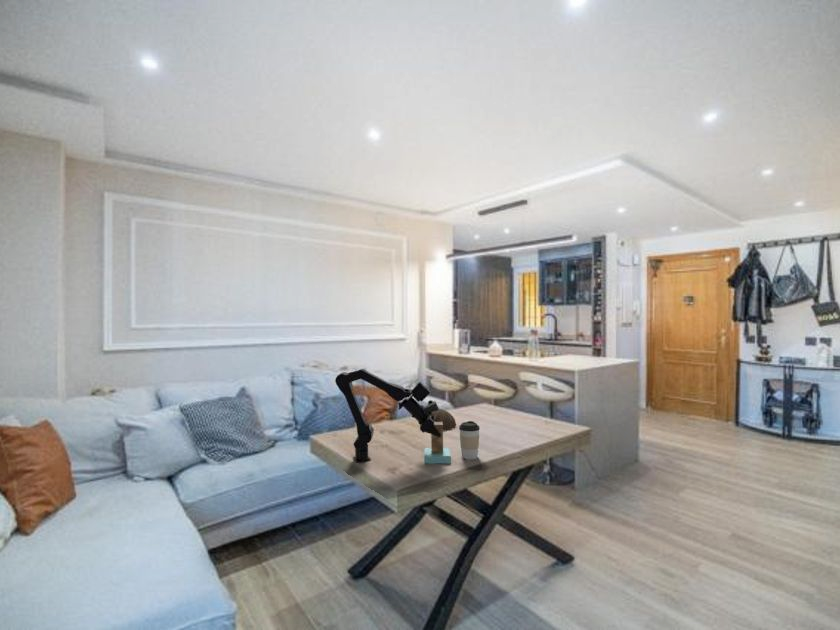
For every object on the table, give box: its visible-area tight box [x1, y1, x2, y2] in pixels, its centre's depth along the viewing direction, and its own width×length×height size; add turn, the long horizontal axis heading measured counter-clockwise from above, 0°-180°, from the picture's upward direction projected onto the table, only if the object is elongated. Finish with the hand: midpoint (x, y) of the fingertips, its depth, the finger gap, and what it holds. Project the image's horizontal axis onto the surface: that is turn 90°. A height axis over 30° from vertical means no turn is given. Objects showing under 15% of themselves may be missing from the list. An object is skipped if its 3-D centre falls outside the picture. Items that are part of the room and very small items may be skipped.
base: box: [424, 447, 452, 464], centre depth 182 cm, size 11×11×3 cm
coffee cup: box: [459, 420, 480, 460], centre depth 184 cm, size 9×9×15 cm
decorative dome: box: [430, 408, 457, 431], centre depth 236 cm, size 19×20×10 cm
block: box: [430, 422, 444, 454], centre depth 182 cm, size 5×5×12 cm
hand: (440, 433), depth 182 cm, fingers open, 7 cm apart
